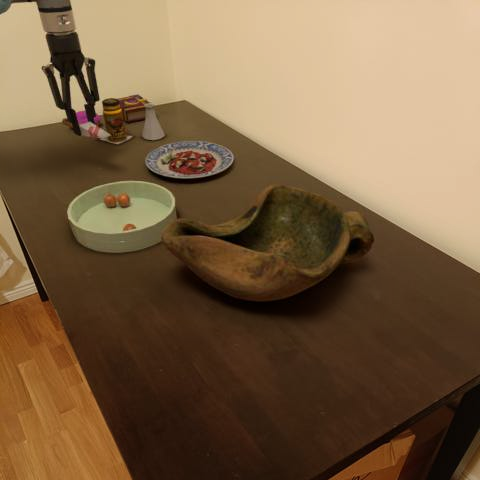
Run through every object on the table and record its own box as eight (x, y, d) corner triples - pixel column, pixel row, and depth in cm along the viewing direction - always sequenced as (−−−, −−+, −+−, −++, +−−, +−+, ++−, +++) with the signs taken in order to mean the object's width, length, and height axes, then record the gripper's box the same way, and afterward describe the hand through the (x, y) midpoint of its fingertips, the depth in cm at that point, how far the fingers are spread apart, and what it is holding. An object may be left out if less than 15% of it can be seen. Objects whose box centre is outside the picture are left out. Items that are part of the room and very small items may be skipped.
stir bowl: (79, 262, 92) (73, 243, 88) (68, 209, 108) (62, 190, 105) (189, 239, 98) (187, 220, 95) (163, 192, 115) (160, 174, 111)
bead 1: (113, 190, 107) (102, 196, 108) (111, 192, 104) (100, 198, 105) (120, 202, 109) (108, 207, 109) (118, 205, 106) (107, 210, 106)
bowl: (215, 361, 71) (220, 291, 61) (153, 264, 89) (148, 197, 79) (388, 300, 87) (415, 236, 77) (305, 228, 105) (318, 169, 94)
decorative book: (127, 124, 152) (124, 109, 148) (111, 111, 162) (108, 97, 158) (156, 118, 156) (154, 103, 153) (139, 106, 166) (137, 91, 163)
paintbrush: (99, 133, 111) (57, 118, 121) (102, 143, 112) (60, 128, 122) (111, 128, 113) (69, 114, 123) (114, 139, 114) (72, 124, 124)
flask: (154, 131, 147) (150, 99, 140) (169, 136, 144) (165, 104, 137) (138, 137, 143) (133, 105, 136) (152, 142, 140) (148, 110, 133)
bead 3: (134, 219, 96) (122, 222, 97) (130, 227, 94) (118, 230, 95) (141, 230, 98) (129, 233, 99) (137, 239, 96) (125, 242, 97)
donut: (65, 128, 149) (61, 114, 146) (89, 120, 155) (85, 106, 152) (83, 135, 144) (80, 121, 141) (107, 126, 150) (104, 112, 147)
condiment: (118, 144, 138) (110, 105, 130) (98, 139, 141) (90, 100, 133) (133, 137, 143) (126, 98, 135) (113, 132, 146) (106, 94, 138)
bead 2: (114, 206, 107) (120, 199, 109) (126, 210, 107) (132, 203, 109) (114, 196, 105) (120, 189, 107) (126, 200, 105) (132, 193, 107)
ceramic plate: (248, 157, 131) (248, 147, 129) (205, 192, 115) (204, 182, 113) (178, 142, 140) (177, 133, 138) (128, 173, 123) (126, 163, 121)
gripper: (32, 39, 96) (62, 144, 112) (100, 29, 104) (119, 128, 120) (19, 34, 100) (50, 136, 117) (86, 25, 108) (106, 121, 125)
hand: (85, 132), depth 118 cm, fingers closed on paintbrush, 4 cm apart
